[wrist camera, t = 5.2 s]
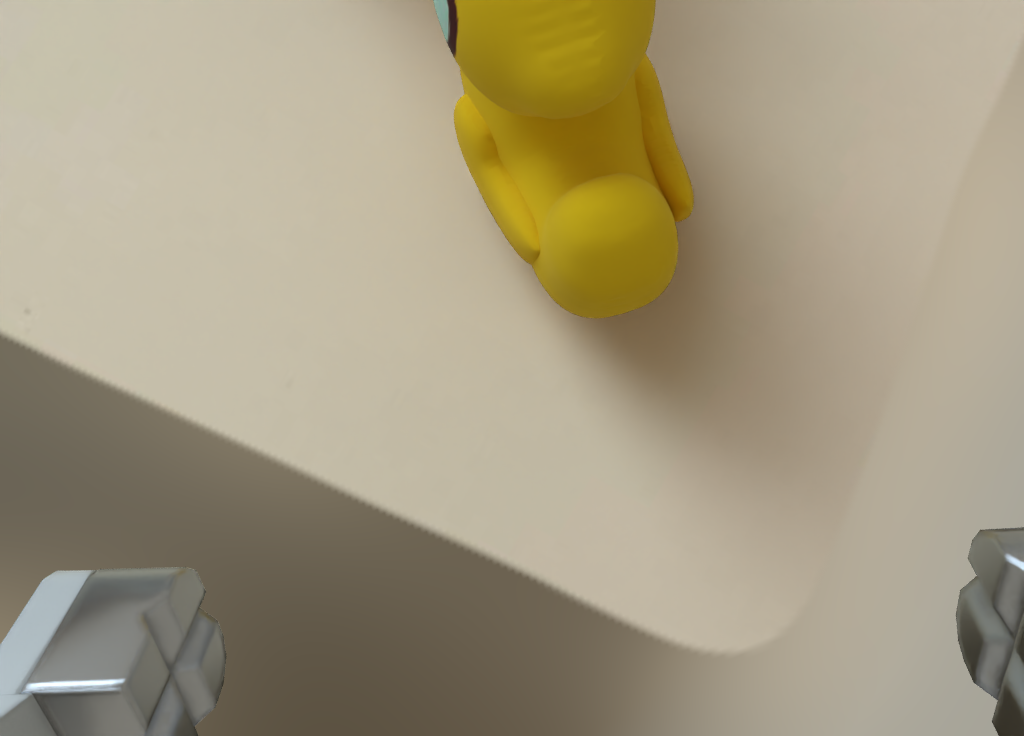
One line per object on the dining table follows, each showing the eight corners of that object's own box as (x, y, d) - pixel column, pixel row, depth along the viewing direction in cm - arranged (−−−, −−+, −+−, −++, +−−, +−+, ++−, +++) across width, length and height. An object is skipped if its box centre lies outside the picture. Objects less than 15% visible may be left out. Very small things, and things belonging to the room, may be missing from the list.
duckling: (425, 24, 27) (325, -272, 18) (595, -31, 27) (589, -360, 18) (530, 374, 25) (481, 254, 15) (718, 317, 25) (792, 158, 15)
